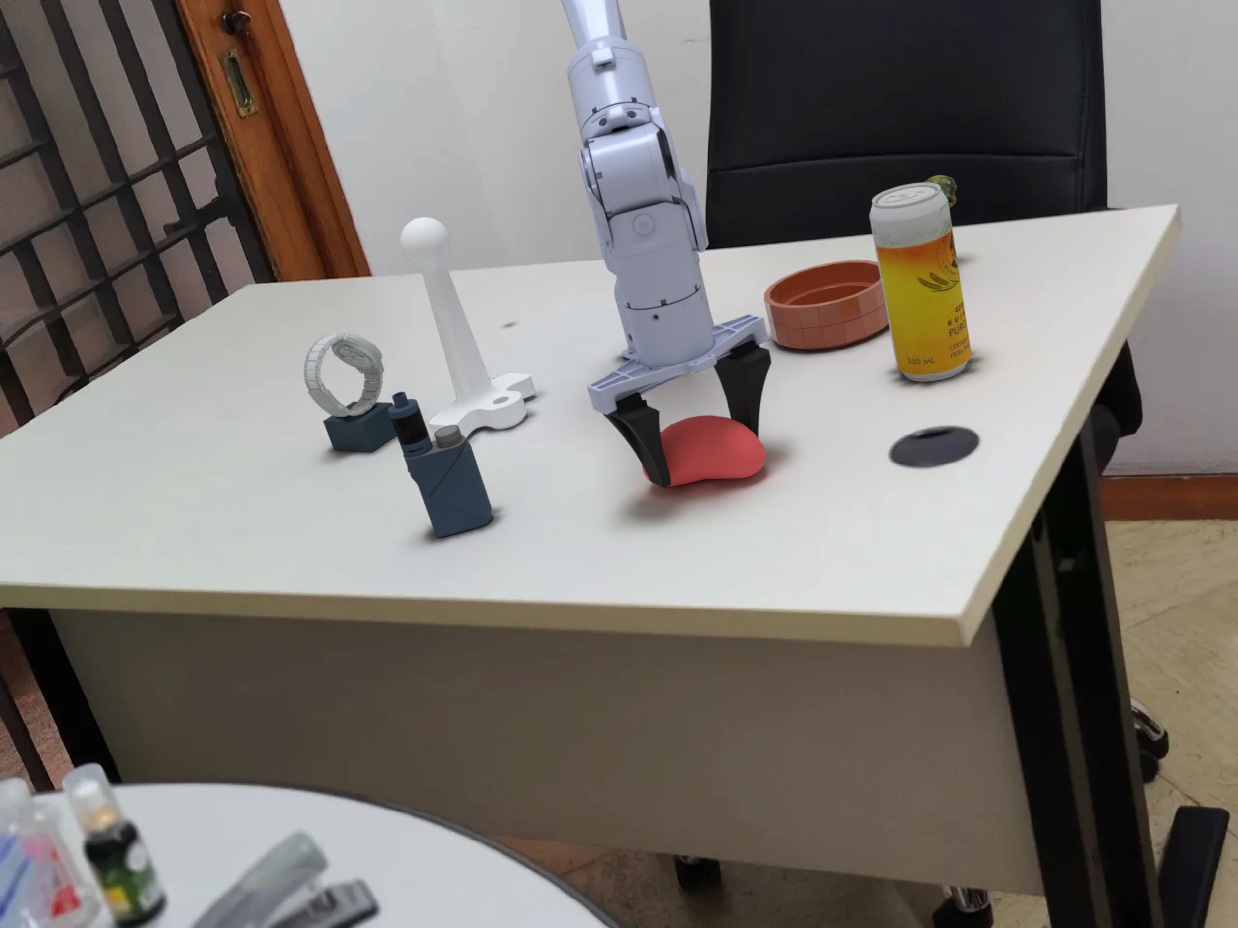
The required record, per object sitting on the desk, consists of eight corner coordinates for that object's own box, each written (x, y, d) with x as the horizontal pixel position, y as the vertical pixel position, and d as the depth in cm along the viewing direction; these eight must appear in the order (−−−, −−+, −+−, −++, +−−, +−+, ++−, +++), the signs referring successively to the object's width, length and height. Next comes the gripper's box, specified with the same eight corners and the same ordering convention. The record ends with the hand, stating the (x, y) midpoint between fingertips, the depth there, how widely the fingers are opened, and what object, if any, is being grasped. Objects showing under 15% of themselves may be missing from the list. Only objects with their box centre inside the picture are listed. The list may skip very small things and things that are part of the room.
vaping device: (432, 526, 104) (384, 393, 99) (495, 509, 104) (449, 375, 99) (430, 541, 102) (381, 405, 97) (494, 523, 102) (448, 386, 97)
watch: (415, 422, 127) (379, 319, 123) (359, 460, 121) (319, 354, 117) (376, 420, 130) (339, 320, 126) (320, 458, 125) (279, 354, 120)
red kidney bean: (689, 470, 104) (638, 424, 101) (778, 430, 99) (726, 380, 96) (680, 520, 101) (626, 473, 98) (770, 481, 96) (717, 430, 93)
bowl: (749, 340, 124) (739, 296, 122) (844, 296, 128) (835, 253, 126) (823, 363, 114) (814, 315, 112) (923, 315, 118) (915, 268, 116)
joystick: (507, 392, 128) (445, 198, 120) (561, 397, 123) (500, 195, 115) (427, 444, 121) (355, 241, 113) (481, 450, 116) (410, 240, 108)
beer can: (974, 377, 103) (946, 197, 97) (897, 389, 105) (865, 212, 99) (971, 348, 108) (944, 175, 102) (898, 360, 110) (867, 191, 104)
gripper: (602, 341, 87) (651, 515, 92) (775, 266, 92) (811, 435, 97) (557, 324, 93) (605, 489, 98) (721, 255, 98) (758, 415, 103)
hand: (704, 461), depth 98 cm, fingers open, 7 cm apart
